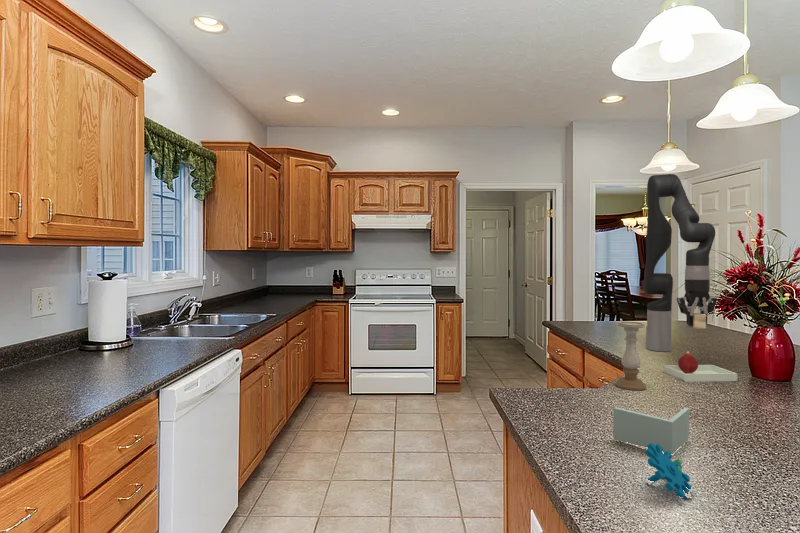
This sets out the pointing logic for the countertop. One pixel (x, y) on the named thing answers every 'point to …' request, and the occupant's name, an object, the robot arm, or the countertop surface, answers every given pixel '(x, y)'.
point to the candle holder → (631, 358)
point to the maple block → (699, 320)
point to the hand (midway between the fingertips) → (696, 325)
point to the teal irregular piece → (667, 470)
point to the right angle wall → (651, 429)
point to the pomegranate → (688, 363)
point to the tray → (701, 374)
